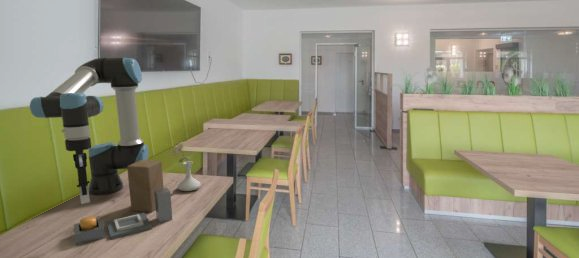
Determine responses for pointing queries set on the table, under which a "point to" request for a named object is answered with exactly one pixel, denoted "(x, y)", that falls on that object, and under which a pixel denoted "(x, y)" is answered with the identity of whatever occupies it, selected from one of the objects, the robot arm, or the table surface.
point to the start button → (88, 223)
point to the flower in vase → (189, 181)
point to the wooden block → (144, 184)
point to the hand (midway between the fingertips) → (85, 202)
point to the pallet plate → (128, 225)
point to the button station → (89, 233)
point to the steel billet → (163, 205)
